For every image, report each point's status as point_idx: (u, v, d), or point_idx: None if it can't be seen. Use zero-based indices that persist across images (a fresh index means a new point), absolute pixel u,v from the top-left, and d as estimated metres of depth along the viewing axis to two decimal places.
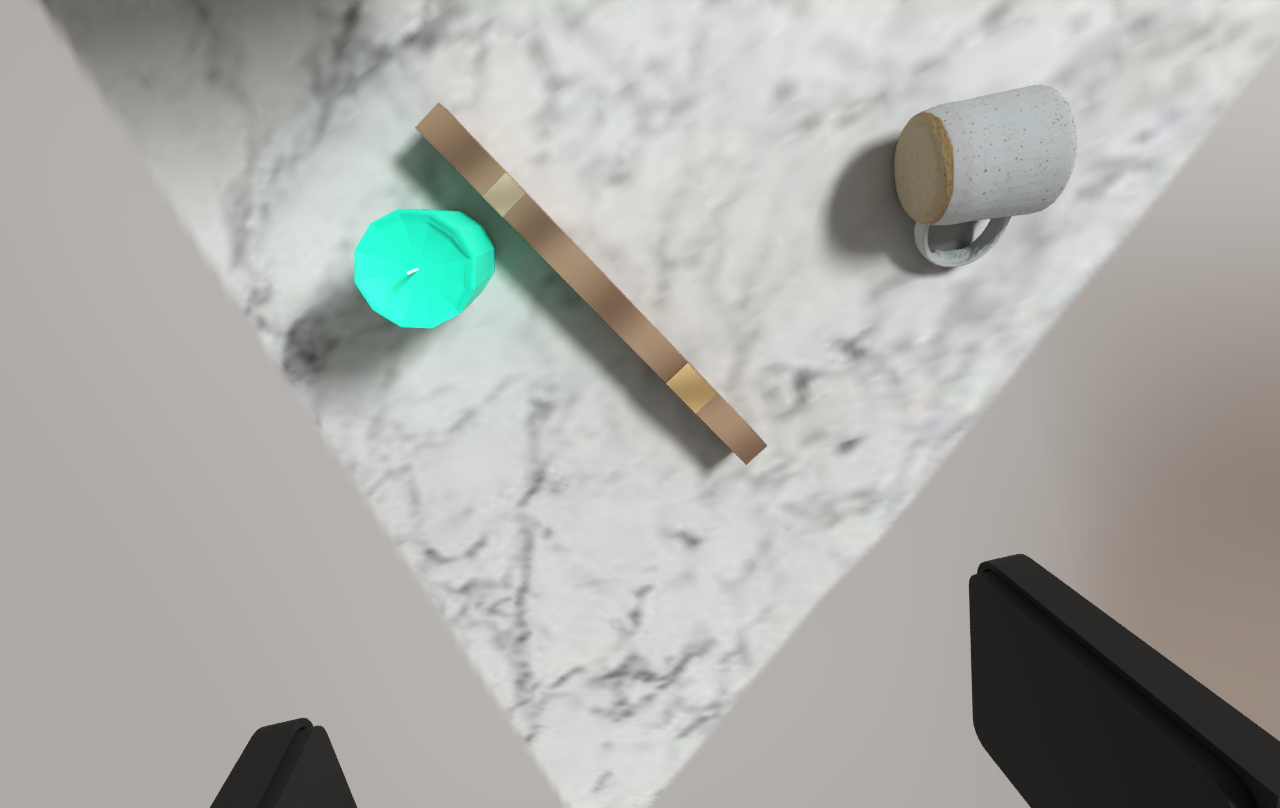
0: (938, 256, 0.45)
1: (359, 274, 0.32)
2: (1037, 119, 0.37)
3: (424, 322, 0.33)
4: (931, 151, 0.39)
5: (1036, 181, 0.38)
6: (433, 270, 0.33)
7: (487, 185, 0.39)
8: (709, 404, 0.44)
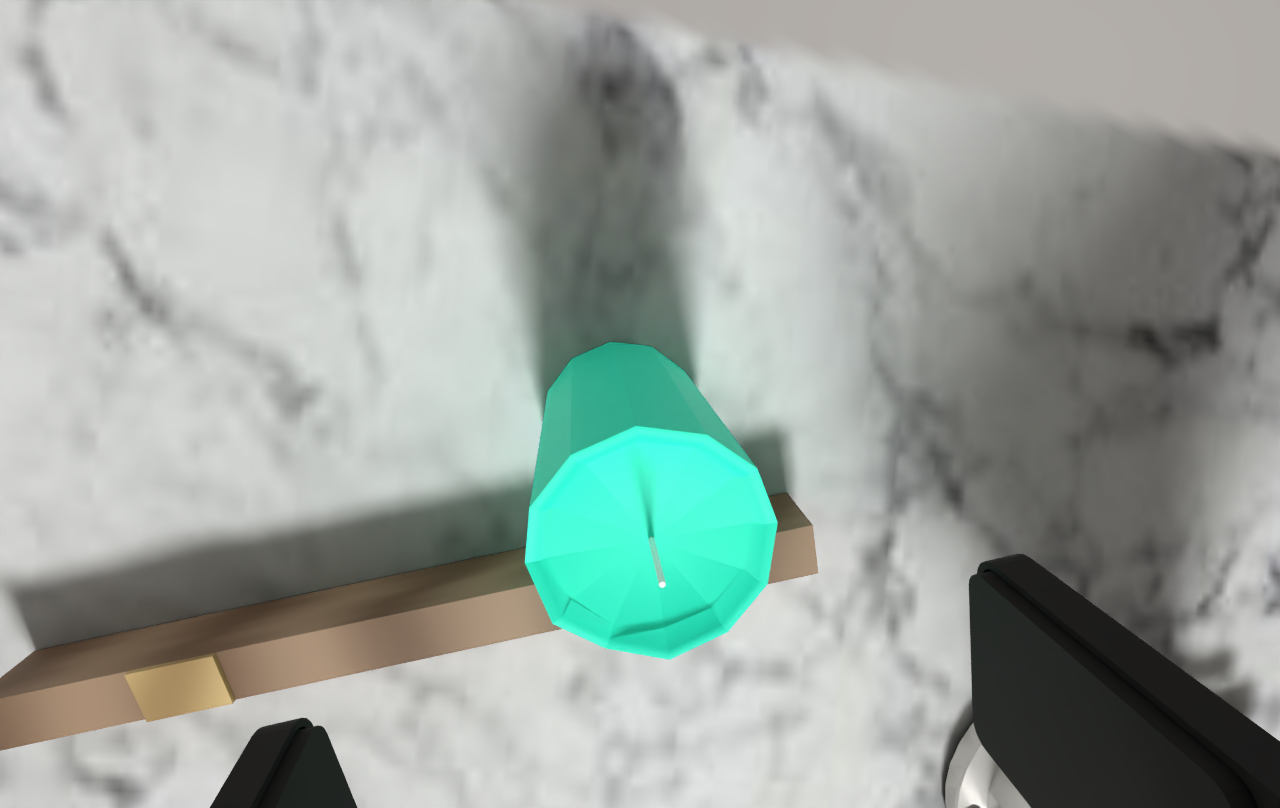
0: None
1: (715, 452, 0.14)
2: None
3: (550, 500, 0.14)
4: None
5: None
6: (632, 565, 0.15)
7: None
8: (132, 699, 0.23)
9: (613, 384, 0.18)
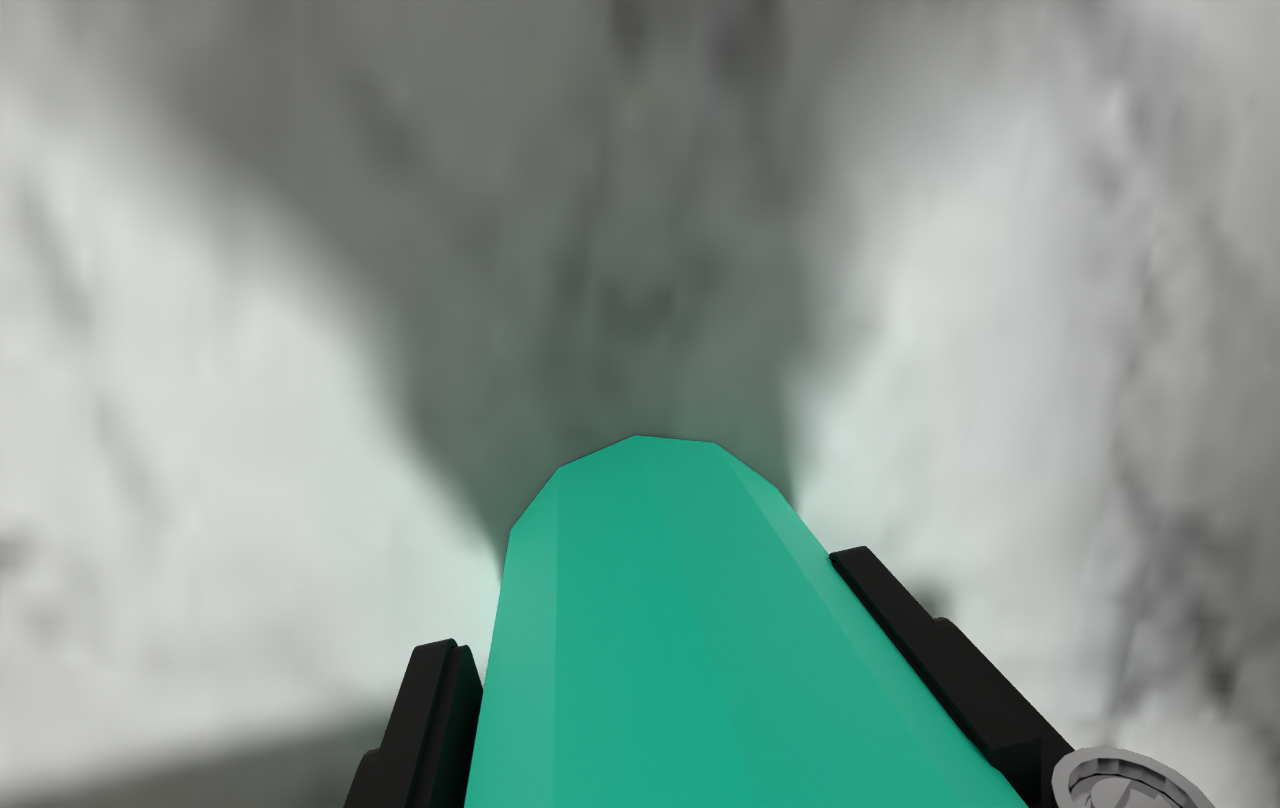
0: None
1: None
2: None
3: None
4: None
5: None
6: None
7: None
8: None
9: (679, 656, 0.06)
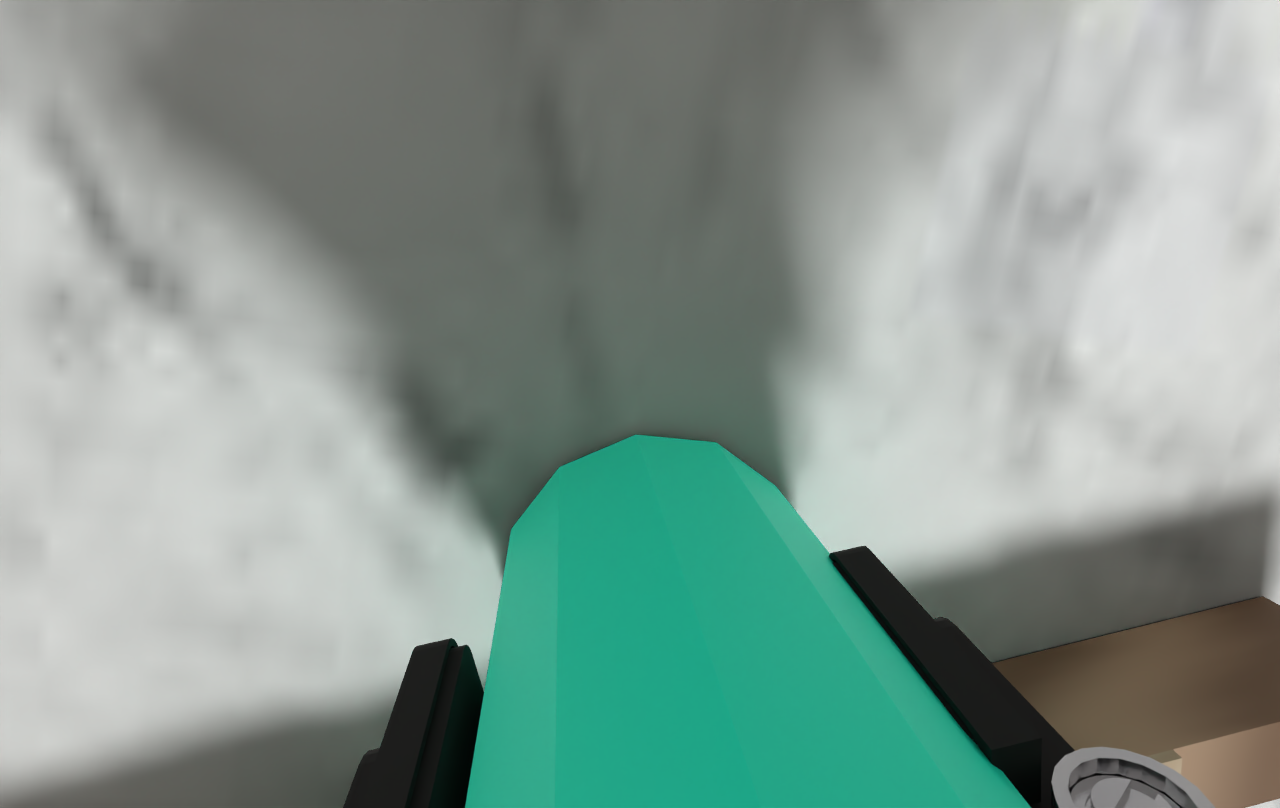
0: None
1: None
2: None
3: None
4: None
5: None
6: None
7: (1181, 774, 0.12)
8: None
9: (680, 655, 0.06)
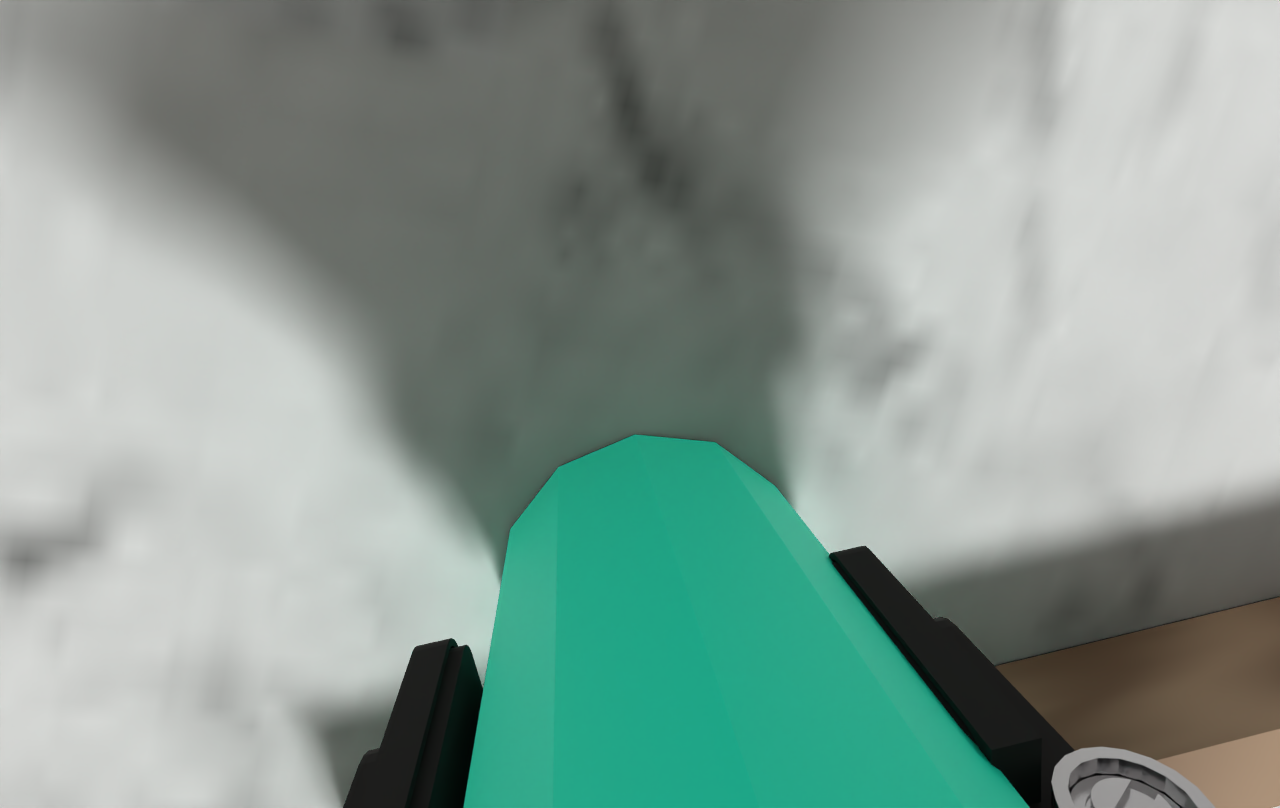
0: None
1: None
2: None
3: None
4: None
5: None
6: None
7: None
8: None
9: (679, 655, 0.06)
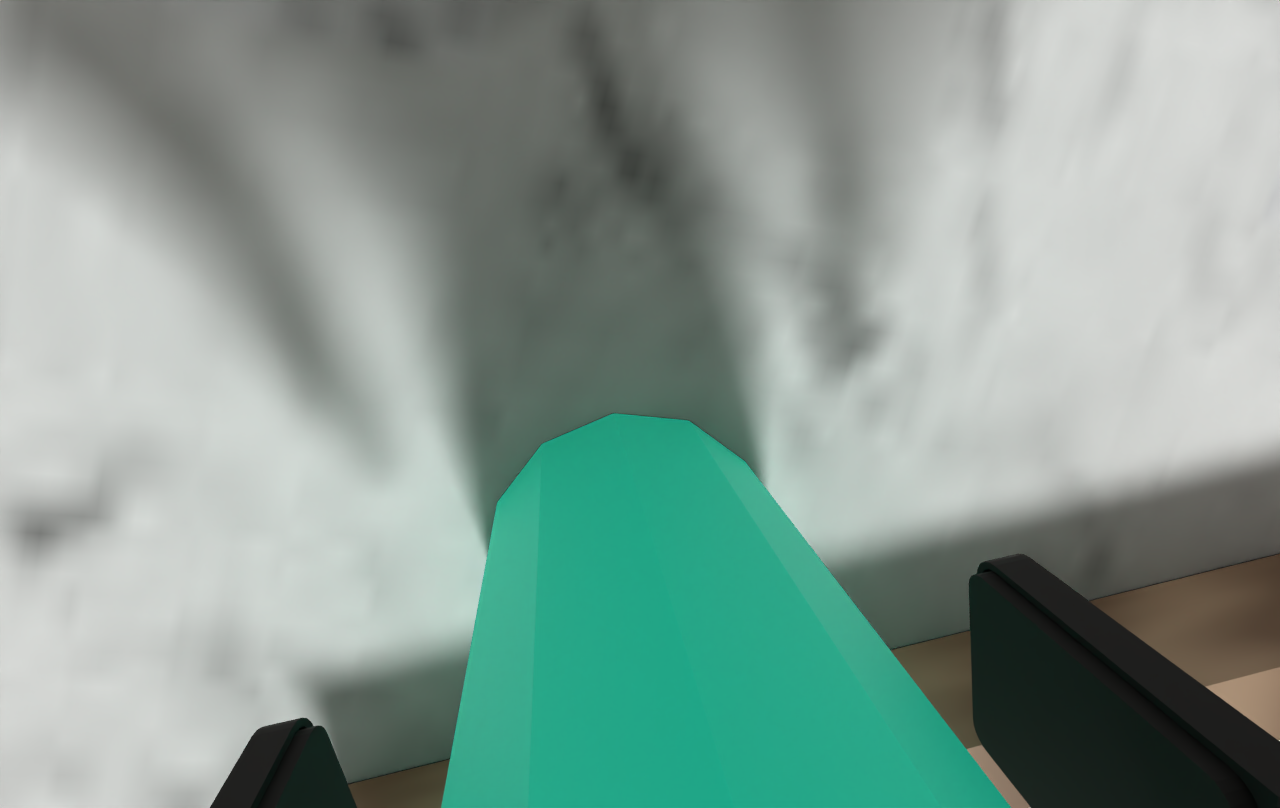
0: None
1: None
2: None
3: None
4: None
5: None
6: None
7: None
8: None
9: (643, 594, 0.07)
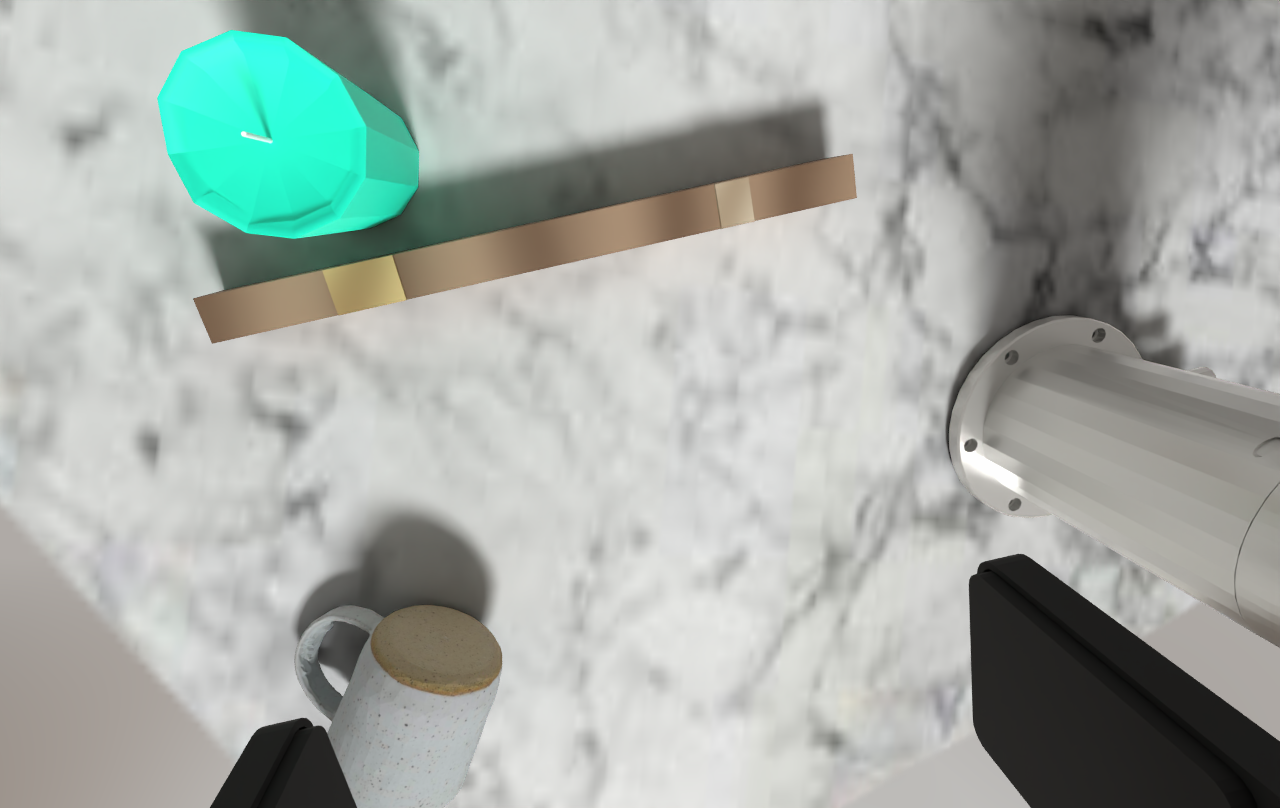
0: (323, 626, 0.35)
1: (297, 54, 0.19)
2: (433, 785, 0.32)
3: (173, 92, 0.19)
4: (459, 669, 0.32)
5: (362, 772, 0.31)
6: (258, 163, 0.20)
7: (753, 191, 0.30)
8: (326, 296, 0.28)
9: None
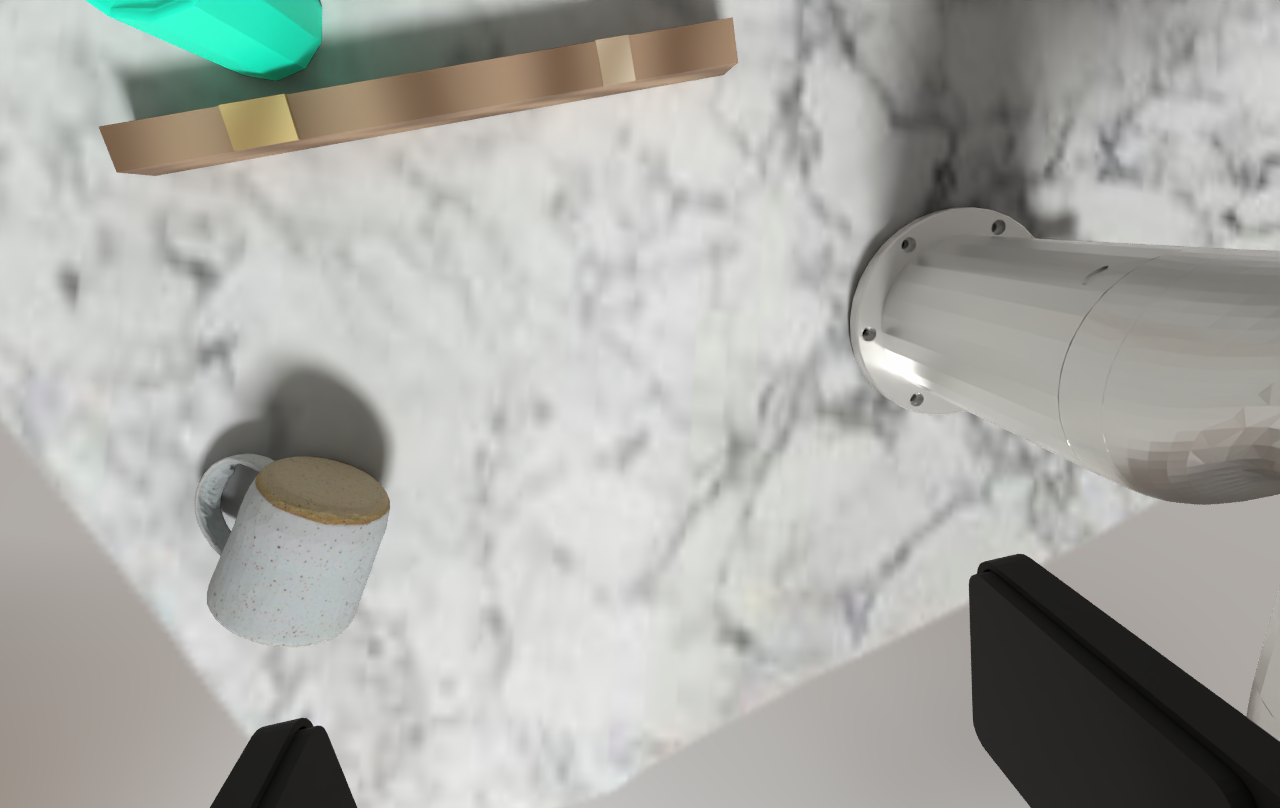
0: (222, 470, 0.37)
1: None
2: (307, 613, 0.33)
3: None
4: (336, 503, 0.33)
5: (237, 592, 0.33)
6: None
7: (635, 50, 0.31)
8: (223, 132, 0.30)
9: None
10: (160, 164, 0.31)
